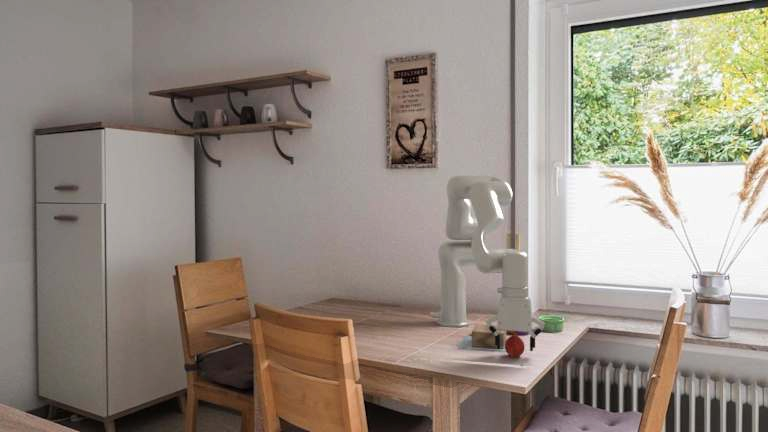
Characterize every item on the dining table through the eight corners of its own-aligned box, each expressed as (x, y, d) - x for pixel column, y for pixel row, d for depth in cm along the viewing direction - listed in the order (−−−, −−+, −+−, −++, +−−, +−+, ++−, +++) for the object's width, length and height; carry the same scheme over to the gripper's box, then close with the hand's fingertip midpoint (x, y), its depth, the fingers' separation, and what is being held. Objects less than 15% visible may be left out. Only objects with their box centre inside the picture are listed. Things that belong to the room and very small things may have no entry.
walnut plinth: (471, 346, 186) (471, 331, 185) (476, 339, 195) (476, 324, 195) (503, 349, 183) (503, 333, 182) (506, 341, 192) (506, 326, 192)
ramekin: (565, 333, 206) (565, 321, 206) (539, 332, 208) (539, 320, 207) (562, 327, 215) (562, 315, 214) (537, 326, 216) (537, 315, 216)
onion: (502, 356, 178) (502, 330, 177) (520, 355, 178) (520, 330, 178) (508, 361, 172) (508, 335, 171) (527, 361, 172) (527, 334, 172)
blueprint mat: (457, 350, 184) (457, 348, 184) (465, 338, 199) (465, 336, 199) (515, 355, 179) (515, 352, 179) (519, 342, 194) (519, 339, 194)
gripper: (484, 293, 173) (484, 350, 173) (544, 295, 168) (544, 354, 168) (487, 289, 180) (487, 344, 181) (545, 291, 175) (545, 347, 176)
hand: (515, 349), depth 174 cm, fingers open, 9 cm apart
